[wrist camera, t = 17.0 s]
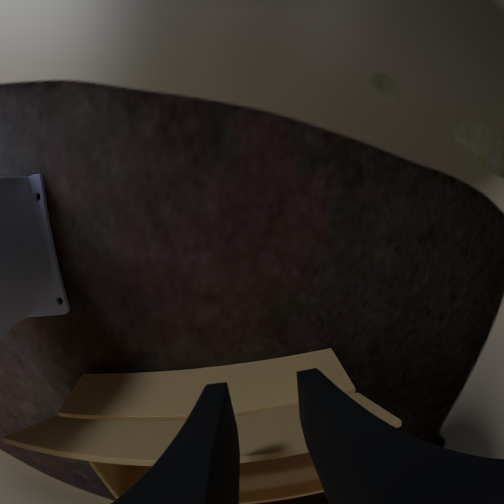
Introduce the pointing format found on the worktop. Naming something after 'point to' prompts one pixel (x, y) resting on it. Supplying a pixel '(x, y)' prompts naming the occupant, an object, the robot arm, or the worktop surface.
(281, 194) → the worktop surface
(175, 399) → the carton
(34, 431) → the flap
